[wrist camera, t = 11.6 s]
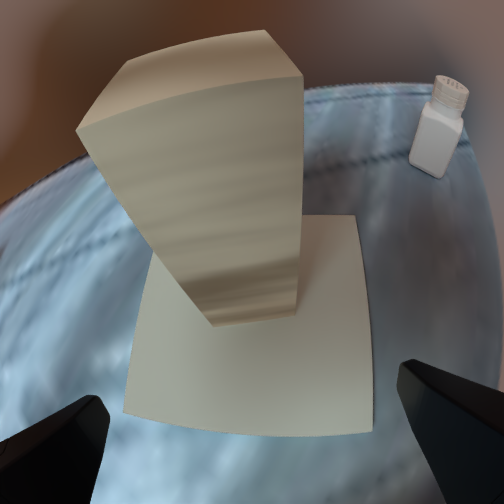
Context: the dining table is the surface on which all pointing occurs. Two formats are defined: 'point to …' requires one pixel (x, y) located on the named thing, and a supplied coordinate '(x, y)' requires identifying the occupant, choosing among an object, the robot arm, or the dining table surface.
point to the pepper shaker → (439, 127)
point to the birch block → (210, 168)
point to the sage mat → (262, 351)
